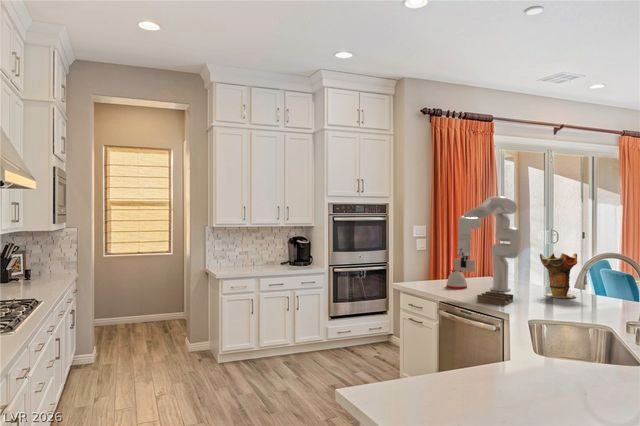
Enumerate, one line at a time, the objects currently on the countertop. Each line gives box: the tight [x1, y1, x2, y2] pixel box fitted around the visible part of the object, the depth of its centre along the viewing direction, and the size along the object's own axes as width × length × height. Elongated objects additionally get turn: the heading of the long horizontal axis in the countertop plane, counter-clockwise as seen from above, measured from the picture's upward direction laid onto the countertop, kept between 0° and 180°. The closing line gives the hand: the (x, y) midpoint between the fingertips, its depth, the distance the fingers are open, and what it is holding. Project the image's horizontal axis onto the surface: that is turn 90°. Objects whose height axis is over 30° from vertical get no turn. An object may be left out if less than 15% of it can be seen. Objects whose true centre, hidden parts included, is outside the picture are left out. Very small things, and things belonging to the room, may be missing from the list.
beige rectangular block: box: [453, 258, 476, 273], centre depth 279 cm, size 3×12×7 cm, turn 51°
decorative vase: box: [539, 252, 578, 299], centre depth 285 cm, size 21×23×28 cm
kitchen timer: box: [446, 267, 468, 290], centre depth 316 cm, size 14×14×15 cm
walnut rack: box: [476, 291, 514, 306], centre depth 267 cm, size 15×16×4 cm
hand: (464, 266), depth 279 cm, fingers closed on beige rectangular block, 2 cm apart
